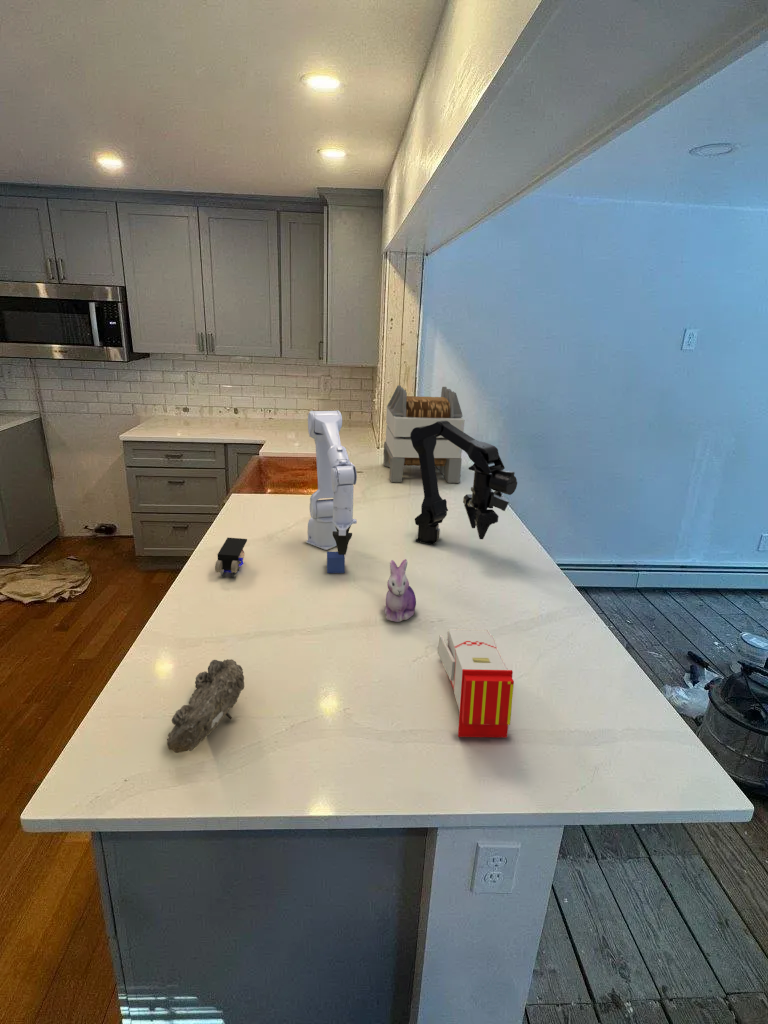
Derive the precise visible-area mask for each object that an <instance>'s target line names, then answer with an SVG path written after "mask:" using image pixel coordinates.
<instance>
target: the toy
mask: <svg viewBox="0 0 768 1024" xmlns="http://www.w3.org/2000/svg"><path fill="white" fill-rule="evenodd" d="M446 640H447V643H446V641H445V639H444V636H443V635H442V634H439V637H438V646H437V656H438V657H439V659H440V661H441V663H442V666H443V668H444V670H445V672H446V674H447V677H448V679H449V681H450V684H451V687H452V690H453V693H454V697H455V701H456V705H457V708H458V711H459V714H458V715H459V716H458V730H457V731H458V732H457V737H458V738H508V731H509V726H510V725H511V717H512V707H513V697H514V696H513V695H514V684H515V680H514V679H513V673H514V671H513V670H512V669H508V667H507V665H506V662H505V661H504V659H503V658H502V655H501V653H500V651H499V649H498V647H497V643H496V639H495V637H494V635H493V634H491V632H490V631H489V629H467V628H466V629H465V628H463V629H461V628H460V629H459V628H448V630H447V639H446Z"/></svg>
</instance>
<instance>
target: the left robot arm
mask: <svg viewBox="0 0 768 1024" xmlns="http://www.w3.org/2000/svg"><path fill="white" fill-rule="evenodd" d="M342 427H343V416H342V412H341V411H340V410H339V409H335V410H310V411H309V412H308V415H307V430H308V431H307V432H308V436H309V437H310V438H312V439H313V441H314V444H315V458H316V459H315V460H316V476H317V489H316V490H315V491H314V492H313V493H312V494H311V495H310V496H309V497H310V498H309V515H310V518H309V519H308V522H307V540H305V543H306V544H309V545H311V546H314V547H317V548H319V549H322V550H325V551H328V550H331V549H332V548H335V547H336V550H337V552H338V554H339V555H347V551H348V546H349V543H350V540H351V538H352V536H353V532H350V529H351V528H352V525H356V524H357V522H358V521H357V519H356V518H354V486H355V485H356V484H357V481H358V474H357V468H356V465H355V464H353V462H351V461H350V457H349V454H348V451H347V449H346V447H345V446H344V445H342V442H341V437H340V432H341V429H342Z"/></svg>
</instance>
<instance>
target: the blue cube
mask: <svg viewBox="0 0 768 1024" xmlns="http://www.w3.org/2000/svg"><path fill="white" fill-rule="evenodd" d="M345 565H346V556H345V555H339V554H338V551H326V574H345V573H346V572H345V570H346V566H345Z"/></svg>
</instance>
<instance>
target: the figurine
mask: <svg viewBox="0 0 768 1024" xmlns="http://www.w3.org/2000/svg"><path fill="white" fill-rule="evenodd" d="M407 567H408V559H406V558H404V559H403V560H402V561H401V563H400V565H399V566H398V565H397V563H396V562H395V561H394V560H393V559H391V560H390V561H389V570H390V576H389V578H388V579H387V589H388V591H387V592H386V594H385V595H386V596H385V607H384V615H385V616H386V620H387V621H391V622H395V623H400V622H402V621H406V620H409V619H410V618H411V617H413V616H414V615H415V610H416V606H417V597H416V593H415V591H414V590H413V587H411V586H410V582H409V579H408V577H407V574H406V571H407Z"/></svg>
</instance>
